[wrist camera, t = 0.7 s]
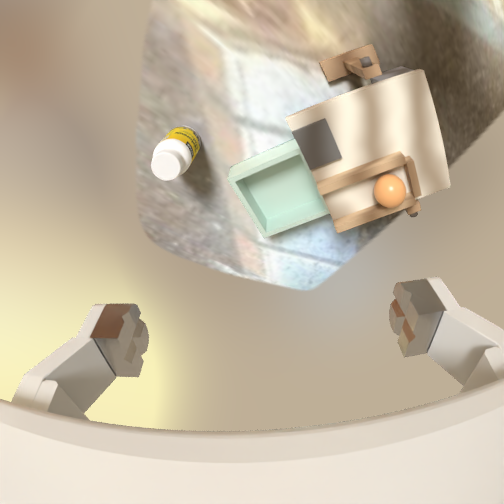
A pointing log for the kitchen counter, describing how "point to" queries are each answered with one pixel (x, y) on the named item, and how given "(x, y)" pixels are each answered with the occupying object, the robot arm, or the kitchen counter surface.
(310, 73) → the kitchen counter surface
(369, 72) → the lever stand
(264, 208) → the green square tray
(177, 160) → the supplement bottle
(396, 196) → the ball
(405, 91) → the lever
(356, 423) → the robot arm
